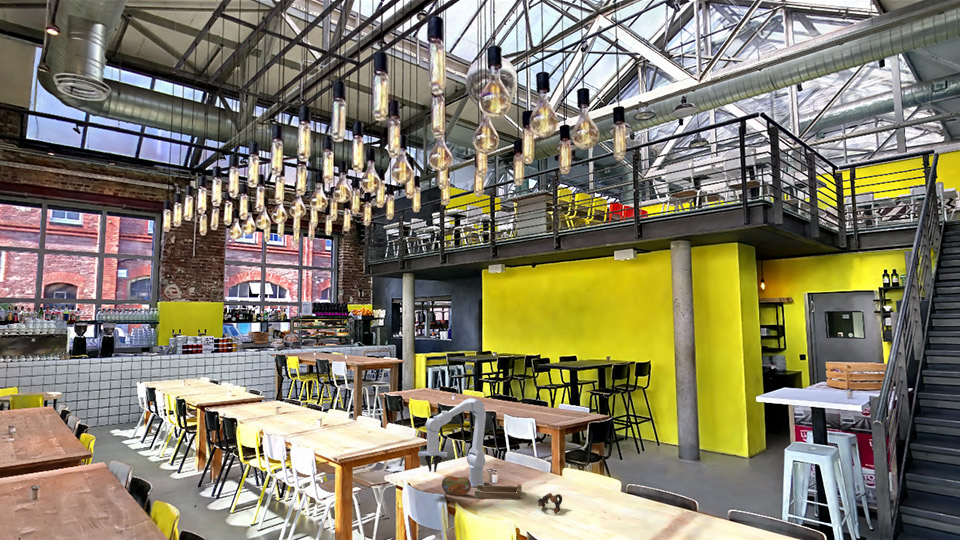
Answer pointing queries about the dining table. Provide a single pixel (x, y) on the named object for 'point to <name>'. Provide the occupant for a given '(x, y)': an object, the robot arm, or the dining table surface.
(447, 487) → the tin
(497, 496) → the walnut rails
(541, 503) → the brown figurine
